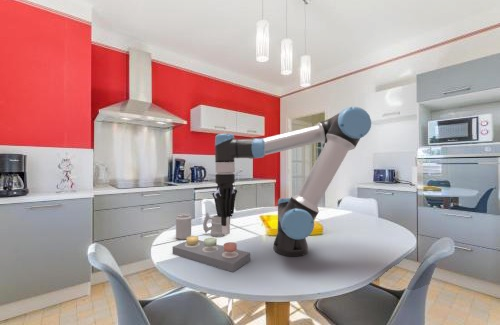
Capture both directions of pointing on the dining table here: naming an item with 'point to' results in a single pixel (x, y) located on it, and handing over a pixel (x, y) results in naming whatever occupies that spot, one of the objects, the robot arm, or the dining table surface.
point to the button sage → (210, 242)
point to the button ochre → (192, 240)
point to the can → (183, 226)
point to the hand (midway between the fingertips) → (225, 233)
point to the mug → (213, 225)
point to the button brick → (230, 247)
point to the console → (212, 255)
